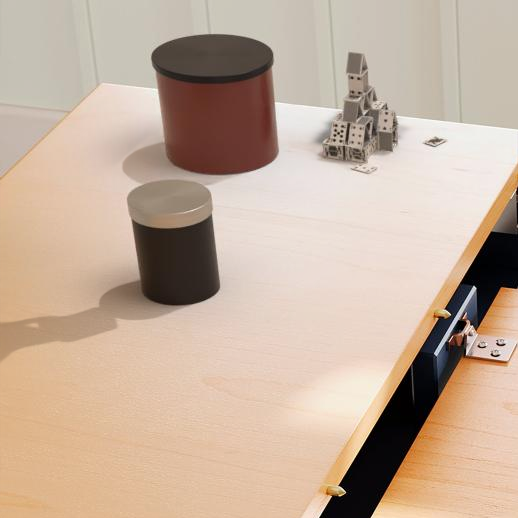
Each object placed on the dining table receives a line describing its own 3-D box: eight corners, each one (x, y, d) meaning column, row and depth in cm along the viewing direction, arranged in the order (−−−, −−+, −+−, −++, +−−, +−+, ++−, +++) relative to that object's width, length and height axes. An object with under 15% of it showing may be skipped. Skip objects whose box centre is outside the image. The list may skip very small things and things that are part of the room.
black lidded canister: (139, 325, 104) (122, 214, 99) (147, 287, 109) (131, 179, 104) (221, 324, 105) (208, 214, 100) (226, 286, 109) (214, 179, 104)
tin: (158, 176, 123) (145, 76, 118) (169, 129, 130) (157, 33, 125) (279, 175, 124) (270, 76, 119) (283, 129, 131) (275, 34, 126)
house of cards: (416, 180, 124) (414, 86, 120) (313, 165, 126) (307, 72, 121) (449, 138, 131) (448, 47, 127) (351, 124, 133) (346, 34, 128)
